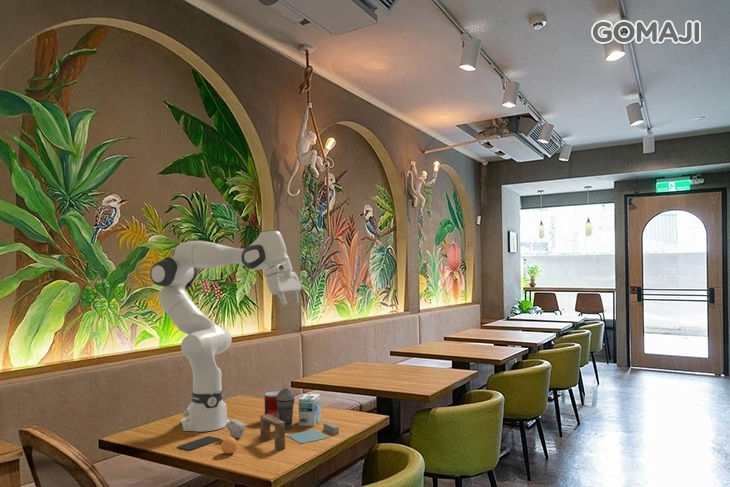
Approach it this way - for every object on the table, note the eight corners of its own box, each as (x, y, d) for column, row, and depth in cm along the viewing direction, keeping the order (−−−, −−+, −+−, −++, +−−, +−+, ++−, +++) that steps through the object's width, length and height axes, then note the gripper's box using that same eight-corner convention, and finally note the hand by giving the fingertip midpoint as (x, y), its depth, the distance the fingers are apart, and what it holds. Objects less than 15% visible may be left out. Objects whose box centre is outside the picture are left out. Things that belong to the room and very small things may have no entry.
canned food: (287, 418, 224) (287, 392, 224) (274, 423, 217) (274, 396, 218) (273, 416, 228) (273, 390, 228) (260, 420, 221) (260, 394, 222)
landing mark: (286, 435, 200) (286, 435, 200) (314, 429, 207) (314, 429, 207) (301, 443, 190) (301, 443, 190) (330, 437, 197) (330, 437, 197)
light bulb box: (314, 426, 212) (314, 399, 212) (298, 426, 213) (298, 399, 213) (321, 419, 222) (321, 393, 223) (305, 418, 223) (305, 392, 224)
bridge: (277, 450, 184) (277, 423, 184) (260, 440, 196) (260, 415, 196) (285, 448, 186) (284, 422, 186) (268, 438, 197) (267, 413, 198)
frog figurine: (225, 437, 200) (225, 418, 200) (243, 434, 203) (243, 416, 203) (227, 441, 194) (227, 422, 195) (246, 439, 197) (246, 420, 197)
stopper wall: (323, 429, 207) (323, 423, 207) (328, 428, 208) (328, 422, 208) (334, 434, 201) (334, 428, 201) (338, 433, 202) (338, 427, 202)
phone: (222, 438, 197) (189, 450, 184) (222, 441, 197) (189, 452, 184) (208, 435, 201) (175, 446, 188) (208, 437, 201) (175, 449, 188)
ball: (219, 452, 182) (218, 437, 183) (234, 449, 185) (234, 434, 186) (224, 457, 178) (224, 441, 178) (239, 454, 181) (239, 437, 181)
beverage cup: (291, 432, 205) (290, 379, 206) (273, 431, 206) (273, 379, 207) (297, 426, 212) (297, 376, 213) (280, 425, 213) (279, 375, 214)
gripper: (286, 271, 215) (295, 304, 213) (260, 272, 196) (271, 308, 194) (299, 266, 213) (309, 299, 212) (275, 267, 194) (286, 303, 192)
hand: (291, 303), depth 203 cm, fingers open, 8 cm apart
